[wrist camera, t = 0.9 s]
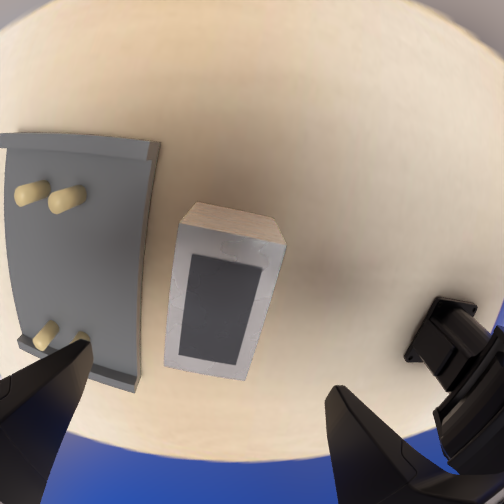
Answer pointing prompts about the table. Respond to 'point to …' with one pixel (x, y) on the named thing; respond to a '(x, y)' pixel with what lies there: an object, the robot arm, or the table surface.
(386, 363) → the table surface
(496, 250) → the table surface
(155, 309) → the table surface
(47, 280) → the tray
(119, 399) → the table surface
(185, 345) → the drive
